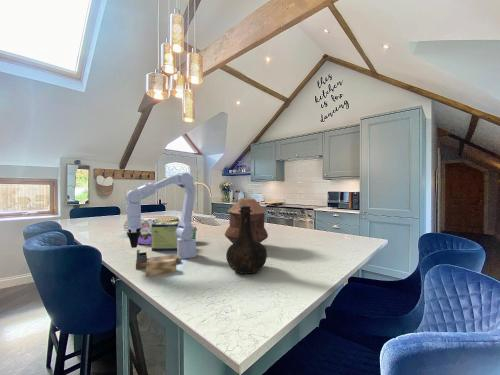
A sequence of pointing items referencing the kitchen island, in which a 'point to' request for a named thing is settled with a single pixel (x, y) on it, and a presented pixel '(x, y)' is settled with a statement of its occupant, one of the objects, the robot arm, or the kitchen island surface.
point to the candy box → (146, 230)
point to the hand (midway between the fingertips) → (134, 245)
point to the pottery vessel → (256, 220)
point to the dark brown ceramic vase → (246, 247)
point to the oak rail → (160, 267)
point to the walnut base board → (143, 265)
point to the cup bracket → (141, 257)
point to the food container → (194, 232)
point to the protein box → (164, 236)
